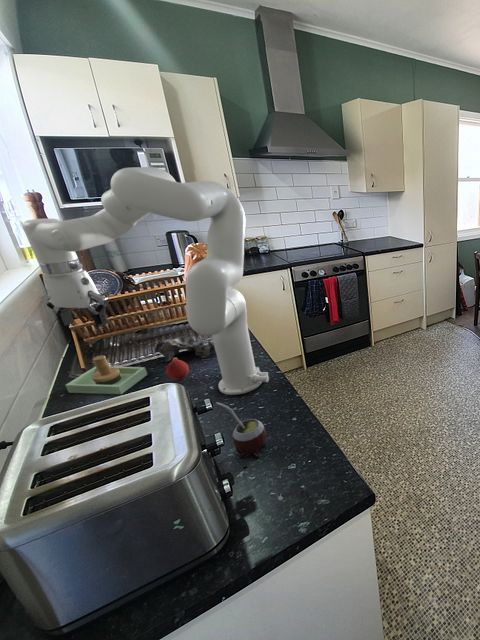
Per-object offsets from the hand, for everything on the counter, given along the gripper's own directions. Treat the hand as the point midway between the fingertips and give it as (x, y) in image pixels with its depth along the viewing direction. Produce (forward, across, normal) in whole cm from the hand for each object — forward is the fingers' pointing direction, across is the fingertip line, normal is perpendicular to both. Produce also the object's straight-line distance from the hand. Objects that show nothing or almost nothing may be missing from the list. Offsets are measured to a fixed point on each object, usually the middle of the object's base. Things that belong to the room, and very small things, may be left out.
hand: (85, 324), depth 99 cm
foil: (+20, -14, -18) cm, 31 cm away
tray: (+20, 0, 0) cm, 20 cm away
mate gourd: (+20, -56, +26) cm, 65 cm away
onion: (+20, -20, -3) cm, 29 cm away
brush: (+20, 0, 0) cm, 20 cm away
